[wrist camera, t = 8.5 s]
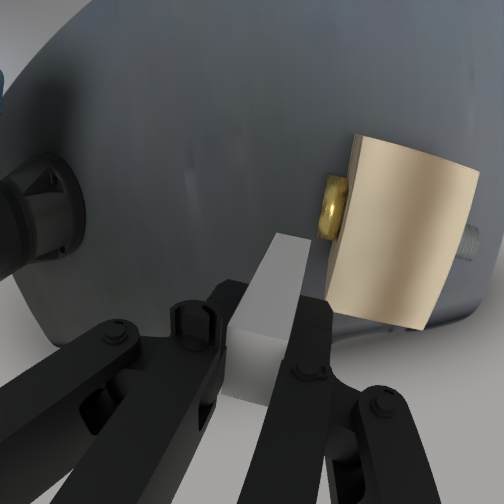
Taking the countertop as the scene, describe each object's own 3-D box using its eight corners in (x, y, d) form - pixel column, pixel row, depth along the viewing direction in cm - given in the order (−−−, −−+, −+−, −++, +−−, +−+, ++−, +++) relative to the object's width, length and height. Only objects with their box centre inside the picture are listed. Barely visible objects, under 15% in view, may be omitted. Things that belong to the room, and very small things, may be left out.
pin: (318, 225, 27) (313, 246, 22) (328, 169, 24) (327, 179, 20) (453, 258, 24) (471, 283, 20) (469, 208, 22) (492, 225, 17)
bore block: (328, 257, 29) (322, 309, 21) (354, 133, 24) (363, 136, 16) (404, 275, 28) (422, 330, 20) (438, 156, 22) (479, 172, 14)
